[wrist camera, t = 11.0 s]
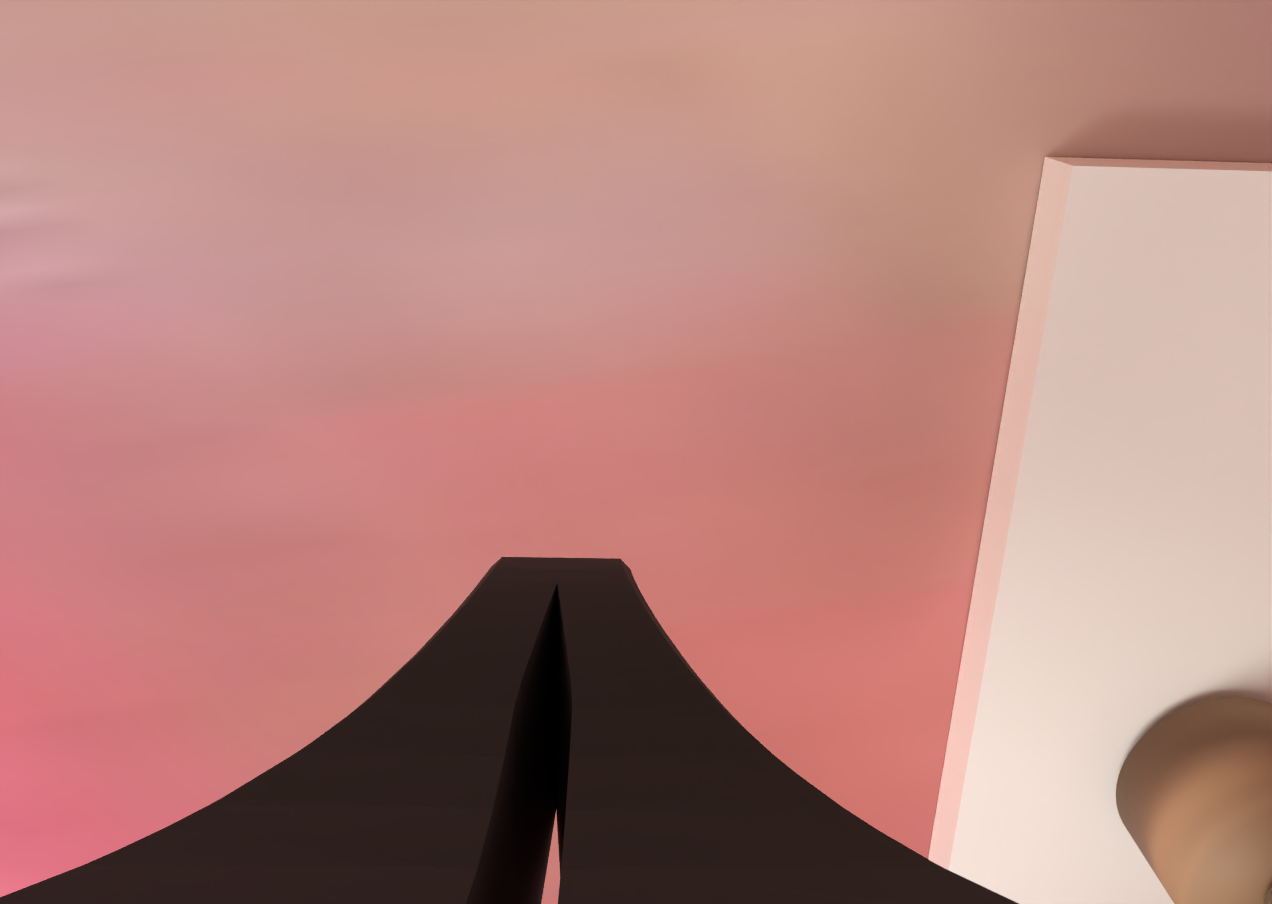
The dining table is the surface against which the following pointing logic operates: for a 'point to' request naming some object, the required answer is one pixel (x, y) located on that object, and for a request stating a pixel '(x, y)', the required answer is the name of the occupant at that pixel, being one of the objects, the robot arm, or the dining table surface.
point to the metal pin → (1268, 897)
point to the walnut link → (1204, 801)
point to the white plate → (1115, 519)
